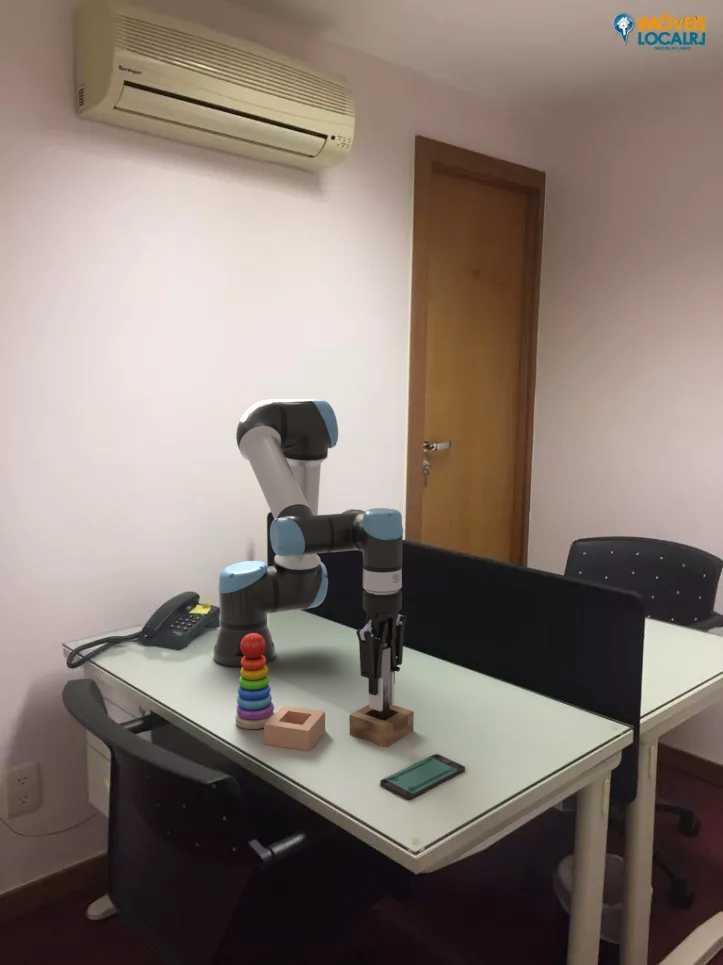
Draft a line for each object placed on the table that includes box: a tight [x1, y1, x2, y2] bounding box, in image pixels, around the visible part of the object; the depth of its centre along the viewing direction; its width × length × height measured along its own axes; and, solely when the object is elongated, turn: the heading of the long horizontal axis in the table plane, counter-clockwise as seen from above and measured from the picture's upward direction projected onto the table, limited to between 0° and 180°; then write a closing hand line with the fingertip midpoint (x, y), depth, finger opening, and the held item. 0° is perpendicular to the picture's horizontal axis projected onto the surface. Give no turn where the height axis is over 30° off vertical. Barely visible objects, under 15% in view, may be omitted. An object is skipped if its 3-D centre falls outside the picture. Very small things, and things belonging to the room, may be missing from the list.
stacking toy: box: [234, 633, 275, 730], centre depth 159 cm, size 8×8×19 cm
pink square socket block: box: [263, 705, 326, 752], centre depth 153 cm, size 9×9×4 cm
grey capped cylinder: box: [374, 641, 391, 721], centre depth 154 cm, size 3×3×17 cm
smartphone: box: [379, 753, 466, 801], centre depth 138 cm, size 7×1×15 cm
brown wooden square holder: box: [349, 704, 415, 748], centre depth 155 cm, size 9×9×4 cm
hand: (381, 705), depth 155 cm, fingers closed on grey capped cylinder, 3 cm apart
